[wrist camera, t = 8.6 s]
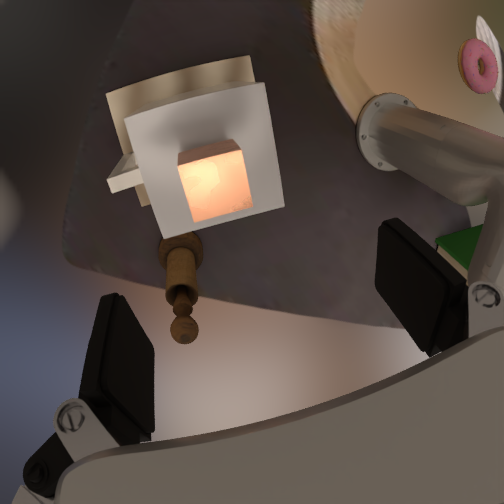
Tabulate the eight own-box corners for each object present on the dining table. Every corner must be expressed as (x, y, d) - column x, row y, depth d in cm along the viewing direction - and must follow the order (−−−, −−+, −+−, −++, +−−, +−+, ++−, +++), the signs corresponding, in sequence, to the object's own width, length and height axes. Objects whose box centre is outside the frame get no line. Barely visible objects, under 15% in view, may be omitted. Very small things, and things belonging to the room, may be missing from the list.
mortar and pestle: (155, 232, 43) (146, 320, 28) (199, 225, 44) (212, 311, 29) (163, 269, 46) (162, 362, 32) (204, 263, 47) (219, 354, 33)
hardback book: (429, 266, 60) (497, 339, 40) (435, 238, 56) (512, 310, 36) (476, 249, 62) (539, 307, 42) (483, 223, 58) (552, 281, 38)
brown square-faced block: (227, 93, 32) (270, 107, 17) (241, 158, 37) (288, 227, 22) (157, 111, 32) (132, 143, 16) (175, 175, 36) (172, 258, 21)
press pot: (234, 81, 33) (264, 82, 21) (250, 161, 39) (284, 206, 27) (118, 113, 32) (82, 134, 20) (143, 191, 38) (126, 250, 26)
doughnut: (458, 27, 33) (474, 27, 29) (490, 55, 36) (505, 58, 32) (448, 76, 38) (465, 79, 34) (480, 100, 41) (496, 105, 38)
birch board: (248, 55, 33) (249, 55, 32) (269, 169, 42) (271, 171, 41) (107, 93, 31) (105, 93, 30) (142, 203, 40) (141, 206, 39)
